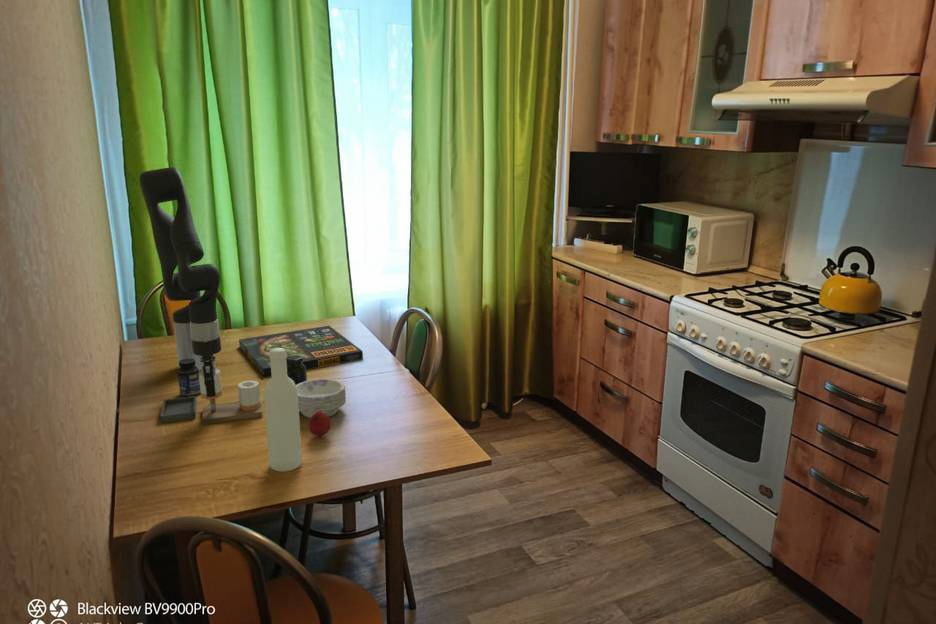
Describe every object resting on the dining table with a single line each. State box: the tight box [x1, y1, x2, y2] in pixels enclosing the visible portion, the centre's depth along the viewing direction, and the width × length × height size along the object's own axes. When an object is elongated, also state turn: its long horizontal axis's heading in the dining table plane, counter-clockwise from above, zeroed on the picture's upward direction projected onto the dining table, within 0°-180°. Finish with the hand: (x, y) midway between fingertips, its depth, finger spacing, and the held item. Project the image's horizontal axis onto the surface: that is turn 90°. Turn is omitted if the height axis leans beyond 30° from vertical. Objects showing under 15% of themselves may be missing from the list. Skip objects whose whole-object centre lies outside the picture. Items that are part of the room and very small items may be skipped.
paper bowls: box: [296, 378, 347, 419], centre depth 192 cm, size 15×15×8 cm
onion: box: [308, 409, 332, 438], centre depth 177 cm, size 6×6×8 cm
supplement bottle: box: [286, 355, 308, 385], centre depth 204 cm, size 7×7×12 cm
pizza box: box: [238, 325, 364, 378], centre depth 241 cm, size 35×35×4 cm
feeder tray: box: [160, 396, 198, 424], centre depth 192 cm, size 12×9×2 cm
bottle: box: [263, 348, 303, 473], centre depth 160 cm, size 8×8×30 cm
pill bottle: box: [176, 358, 201, 398], centre depth 203 cm, size 6×6×11 cm
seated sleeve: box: [237, 380, 262, 411], centre depth 192 cm, size 6×6×7 cm
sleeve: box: [199, 368, 223, 400], centre depth 187 cm, size 6×6×7 cm
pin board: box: [201, 398, 263, 426], centre depth 190 cm, size 10×16×6 cm, turn 110°
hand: (211, 392), depth 188 cm, fingers closed on sleeve, 5 cm apart
